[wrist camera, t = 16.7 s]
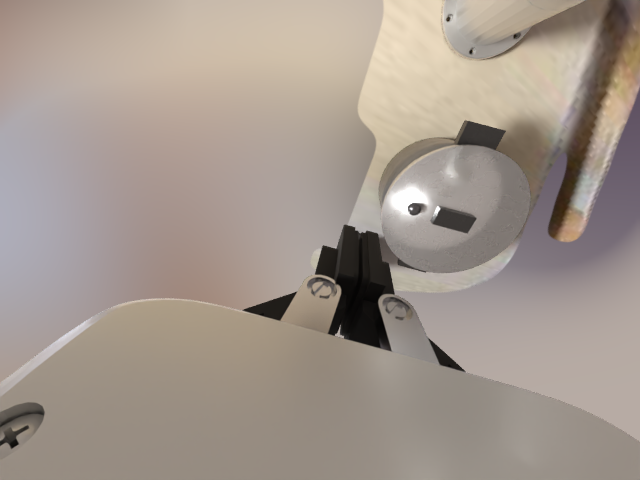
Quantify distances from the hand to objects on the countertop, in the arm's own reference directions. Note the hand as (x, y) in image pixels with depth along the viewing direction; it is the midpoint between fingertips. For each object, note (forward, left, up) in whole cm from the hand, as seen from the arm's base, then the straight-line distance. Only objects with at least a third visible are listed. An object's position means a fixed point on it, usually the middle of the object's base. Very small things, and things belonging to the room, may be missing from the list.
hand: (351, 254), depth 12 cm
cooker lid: (+4, +15, -25) cm, 29 cm away
